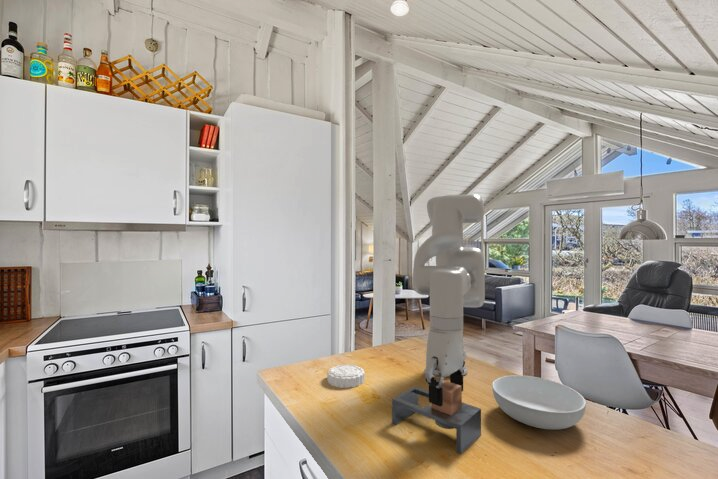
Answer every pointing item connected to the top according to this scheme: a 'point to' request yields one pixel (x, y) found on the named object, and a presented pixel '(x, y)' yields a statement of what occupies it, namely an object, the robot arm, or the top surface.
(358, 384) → the mooncake
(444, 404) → the keyhole peg
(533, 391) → the serving bowl
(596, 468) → the top surface
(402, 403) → the keyhole bracket
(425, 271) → the robot arm
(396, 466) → the top surface
